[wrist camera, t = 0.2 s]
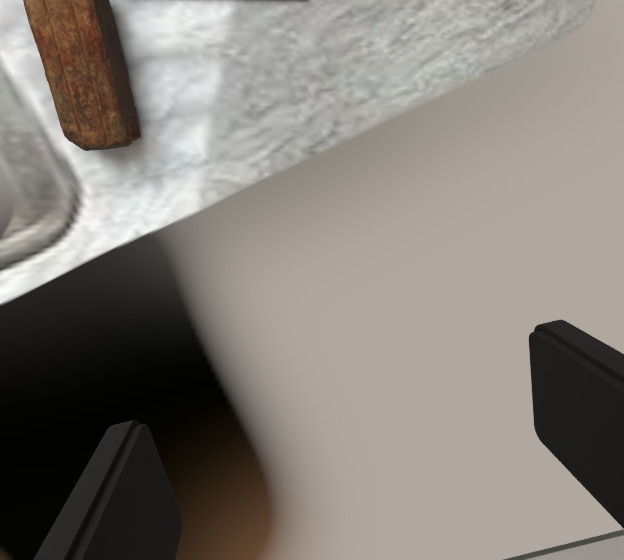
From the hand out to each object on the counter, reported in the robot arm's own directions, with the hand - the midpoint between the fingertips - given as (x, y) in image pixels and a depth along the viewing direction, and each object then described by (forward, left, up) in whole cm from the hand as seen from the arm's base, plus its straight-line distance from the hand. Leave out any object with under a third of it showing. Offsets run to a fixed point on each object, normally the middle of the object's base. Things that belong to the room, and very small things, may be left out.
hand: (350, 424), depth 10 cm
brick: (-10, -11, -26) cm, 30 cm away
